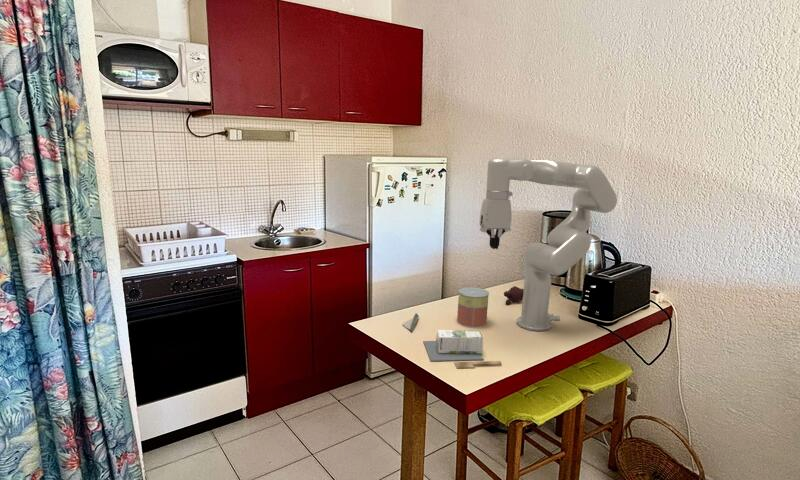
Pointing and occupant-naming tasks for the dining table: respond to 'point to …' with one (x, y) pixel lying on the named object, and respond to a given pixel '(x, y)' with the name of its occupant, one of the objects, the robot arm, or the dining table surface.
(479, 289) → the canned food
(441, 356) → the mat
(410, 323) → the ceramic fragment
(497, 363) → the spatula
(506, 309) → the dining table surface
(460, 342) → the syrup box
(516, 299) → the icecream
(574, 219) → the robot arm
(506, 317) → the dining table surface
